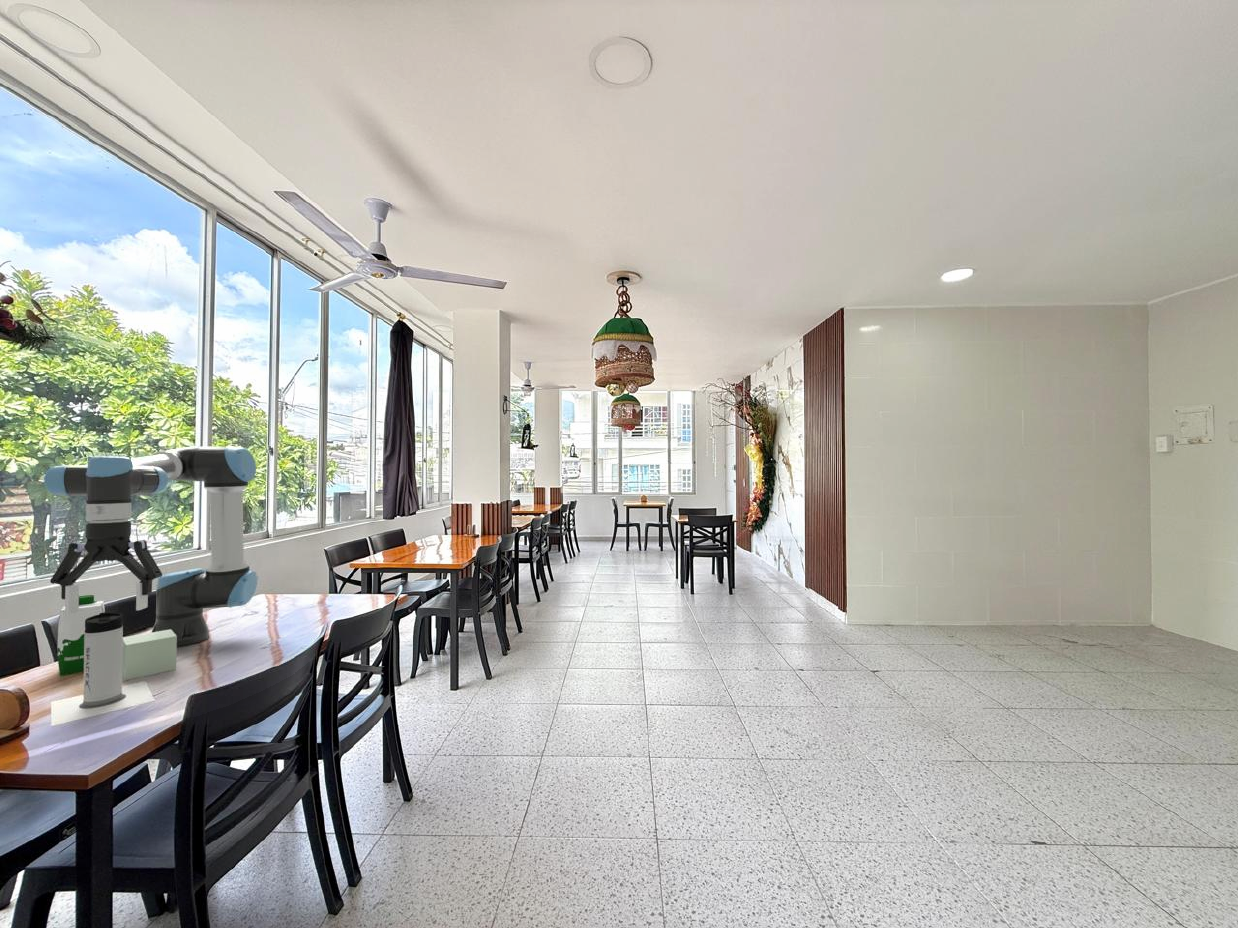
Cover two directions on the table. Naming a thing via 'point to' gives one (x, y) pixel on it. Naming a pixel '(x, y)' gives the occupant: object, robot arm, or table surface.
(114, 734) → the table surface
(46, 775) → the table surface
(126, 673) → the mint green block
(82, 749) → the table surface
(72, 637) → the milk carton
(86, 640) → the travel mug
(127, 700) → the board
